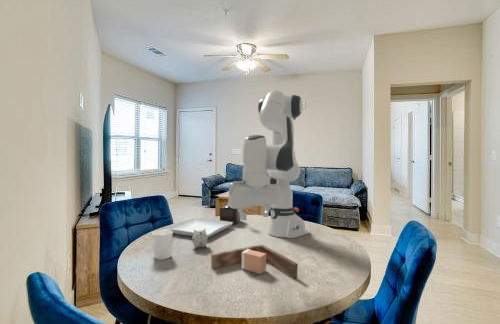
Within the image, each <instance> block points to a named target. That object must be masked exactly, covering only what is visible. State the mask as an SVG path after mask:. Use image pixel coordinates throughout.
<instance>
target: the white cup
mask: <svg viewBox="0 0 500 324" xmlns="http://www.w3.org/2000/svg"><path fill="white" fill-rule="evenodd" d="M151 233H152V249H153V258H154V259H155V260H166V259H168V258H169V259H170V258H171V257H172V249H173V236H174V235H173V234H174V233H173V231H171V230H165V229H157V230H154V231H153V232H151Z"/></svg>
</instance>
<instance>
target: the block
mask: <svg viewBox="0 0 500 324" xmlns="http://www.w3.org/2000/svg"><path fill="white" fill-rule="evenodd" d="M241 270H245V271H246V270H248V271H252V272H255V273H259V274H261V273H262V272H264V271H265V272H266V271H267V262H266V253H262V252H258V251H253V250H249V249H247V250H245V251H243V252H242V263H241ZM248 271H247V272H248Z"/></svg>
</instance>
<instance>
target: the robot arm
mask: <svg viewBox="0 0 500 324" xmlns="http://www.w3.org/2000/svg"><path fill="white" fill-rule="evenodd" d="M303 108H304V103H303V100H302V98H301V96H300V95H296V94H292V95H289V94H284V92H281V91H279V90H272V91H269V92H268V93H267V94H266V96H265V97H261V98H260V99H259V101H258V103H257V110H258V114H259V122H260V123H261V125H262V127H264V128H265V129H267V130H268V131H271V132H272V137H271V138H272V139H271V141H272V144H267V140H266V139H267V138H266V136H265V135H263V134H261V135H260V134H254V135H247V136H246V137H244V141H243V147H242V162H243V169H242V180H238V181H236V180H234V181H232V182H231V183H230V184H228V202H227V204H228V205H229V207H231V208H233V209H237V208H238V212H239V213H240V221H246V220H247V214H245V213H244V212H243V211H245V208H254V207H260V206H264V207H265V209H264V211H262V217H264V218H267V217H269V216H270V222H269V227H268V231H267V234H268V235H269V236H273V237H277V238H287V239H294V238H295V239H296V238H298V237H302V236H305V235H308V234H310V233H311V232H310V230H309V229H308V228H306V223H305V221H304V220H303V218H301V217H300V216H299V215H297V214H296V212H297V213H298V212H299V210H300V209H299V208H298V207H294V206H293V195H294V193H293V190H292V187H291V184H290V183H291V182H294V181H296V180H297V179H298V178H299V177H300V174H301V168H300V165H299V164H298V162H297V160H296V159H297V158H296V152H295V149H294V148H295V147H294V145H295V144H294V142H295V141H294V137H295V135H294V134H295V133H294V132H295V128H294V121H295V120H296V119H297V118H298V117H300V115H302V112H303ZM269 213H270V215H269Z"/></svg>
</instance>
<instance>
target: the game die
mask: <svg viewBox="0 0 500 324" xmlns="http://www.w3.org/2000/svg"><path fill="white" fill-rule="evenodd" d="M205 230H206V229H204V230H201V231H195V230H194V231H195V232H194V234H193V236H191V238H190V239H189V240H190V241H191V242H192V243H193V245H194V248H193V249H194V250H195V249H197V248H205V249H207V243H208V241H209V239H210V238H211V236H210V237H208V235H207V234H206V232H205Z"/></svg>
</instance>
